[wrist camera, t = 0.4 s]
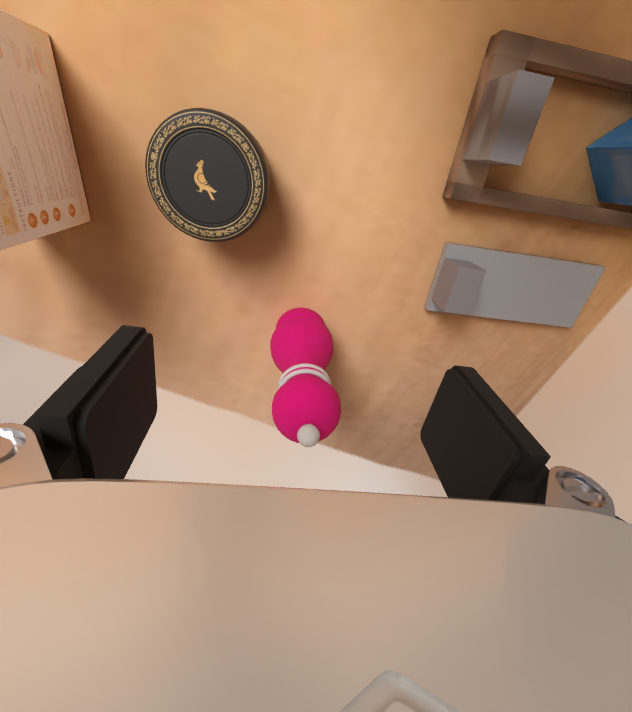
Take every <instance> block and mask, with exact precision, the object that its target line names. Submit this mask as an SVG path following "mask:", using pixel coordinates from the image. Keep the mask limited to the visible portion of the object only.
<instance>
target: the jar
mask: <svg viewBox="0 0 632 712" xmlns="http://www.w3.org/2000/svg"><path fill="white" fill-rule="evenodd" d="M145 168H146V177H147V182H148V186H149V189H150V192H151V195H152V197H153V199H154V201H155V203H156V205H157V206H158V208H159V209H160V211H161V212H162V214H163V215H164V216H165V217H166V218H167V219H168V220H169V221H170V222H171V223H172V224H173V225H174V226H175V227H176V228H178V229H179V230H181V231H182V232H184V233H186V234H187V235H189V236H192V237H194V238H197V239H200V240H204V241H211V242H221V241H227V240H231V239H234V238H237V237H239V236H241V235H242V234H244V233H245V232H247V231H248V230H249V229H250V228H252V227H253V226H254V225H255V224H256V222H257V221H258V220H259V219H260V217H261V215H262V214H263V212H264V210H265V207H266V205H267V201H268V198H269V192H270V183H271V179H270V170H269V165H268V161H267V158H266V156H265V153H264V151H263V149H262V148H261V146H260V144H259V143H258V141H257V140H256V139H255V137H254V136H253V135H252V134H251V133H250V132H249V131H248V130H247V128H246V127H245V126H243V125H242V124H241V123H240V122H238V121H237V120H235V119H234V118H232V117H231V116H229V115H227V114H224V113H222V112H219V111H215V110H211V109H205V108H191V109H186V110H182V111H179V112H177V113H175V114H173V115H171V116H170V117H168V118H167V119H166V120H164V121H163V122H162V123H161V124H160V125H159V127H158V128H157V129H156V131H155V132H154V134H153V136H152V138H151V140H150V142H149V145H148V149H147V153H146V163H145Z"/></svg>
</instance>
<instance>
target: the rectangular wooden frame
mask: <svg viewBox="0 0 632 712" xmlns="http://www.w3.org/2000/svg"><path fill="white" fill-rule="evenodd" d="M525 68H527V69H531V70H536V71H540V72H544V73H549V74H553V75H557V76H562V77H566V78H570V79H575V80H579V81H583V82H588V83H592V84H596V85H601V86H605V87H609V88H614V89H618V90H622V91H627V92H631V93H632V61H629V60H625V59H621V58H617V57H613V56H609V55H604V54H600V53H596V52H592V51H588V50H584V49H580V48H576V47H572V46H568V45H564V44H560V43H555V42H551V41H547V40H543V39H539V38H535V37H531V36H527V35H523V34H519V33H515V32H511V31H506V30H502V31H500V32H498V33H497V34H495V35H493V36H492V37H491V38H490V41H489V45H488V48H487V51H486V55H485V58H484V61H483V64H482V68H481V71H480V74H479V78H478V81H477V84H476V88H475V91H474V94H473V98H472V101H471V104H470V108H469V111H468V114H467V117H466V121H465V124H464V127H463V131H462V134H461V137H460V141H459V144H458V147H457V151H456V154H455V157H454V161H453V164H452V167H451V170H450V174H449V177H448V180H447V184H446V187H445V190H444V194H443V197H446V198H450V199H456V200H462V201H468V202H473V203H479V204H485V205H491V206H497V207H503V208H509V209H515V210H521V211H527V212H533V213H539V214H545V215H551V216H557V217H563V218H569V219H574V220H580V221H586V222H592V223H598V224H604V225H610V226H616V227H622V228H628V229H632V213H628V212H622V211H616V210H610V209H605V208H599V207H593V206H588V205H582V204H576V203H571V202H565V201H559V200H554V199H548V198H542V197H536V196H531V195H525V194H519V193H514V192H508V191H502V190H497V189H491V188H485V187H483V186H484V183H485V180H486V177H487V175H488V172H489V169H490V166H491V165H515V166H521V164H522V161H523V159H524V156H525V154H526V151H527V148H528V146H529V143H530V141H531V138H532V136H533V133H534V130H535V128H536V125H537V123H538V120H539V117H540V115H541V112H542V110H543V107H544V105H545V102H546V99H547V97H548V94H549V92H550V89H551V86H552V84H553V81H554V79H555V78H554V77H550V76H546V75H541V74H537V73H533V72H528V71H524V69H525Z"/></svg>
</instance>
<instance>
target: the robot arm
mask: <svg viewBox="0 0 632 712" xmlns="http://www.w3.org/2000/svg"><path fill="white" fill-rule="evenodd" d="M156 412H157V395H156V378H155V362H154V346H153V336H152V334H151V333H147V332H146V329H145V328H142V327H134V326H126V325H123V326H121V327H120V328H119V329H118V330H117V331H116V332H115V333H114V334H113V335H112V336H111V337H110V338H109V339H108V340H107V341H106V343H105V344H104V345H103V346H102V347H101V348H100V349H99V350H98V351H97V352H96V353H95V354H94V355H93V356H92V357H91V358H90V359H89V360H88V361H87V362H86V363H85V364H84V365H83V366H81V367H80V368H78V369H77V370H76V371H75V372H74V373H73V374H72V375H71V376H70V377H69V378H68V379H67V380H66V381H65V382H64V383H63V384H62V386H60V387H59V388H58V389H57V391H55V392H54V393H53V394H52V395H51V396H50V398H49V399H48V400H47V401H46V402H45V403H44V404H43V405H42V406H41V407H40V408H39V409H38V410H37V411H36V412H35V413H34V414H33V415H32V416H31V417H30V418H29V419H28V420H27V421H26V422H25V423H24V424H23V425H22V424H15V423H3V424H0V712H632V524H630V523H627V522H625V521H624V520H622V519H620V518H619V517H617V516H615V509H614V504H613V501H612V499H611V497H610V496H609V494H608V493H607V492H606V491H605V490H604V489H603V488H602V487H601V486H600V485H599V484H598V483H597V482H595V481H594V480H593V479H591V478H590V477H588V476H586V475H585V474H583V473H581V472H579V471H576V470H574V469H572V468H568V467H564V466H555V467H553V468H551V469H550V471H549V469H548V468H547V467H546V466H545V464H546V463H547V462H548V460H549V459H550V455H549V454H548V453H547V452H546V451H545V449H544V448H543V447H542V446H541V445H540V444H539V443H538V441H537V440H536V439H535V438H534V437H533V436H532V435H531V433H530V432H529V431H528V430H527V429H526V428H525V427H524V425H523V424H522V423H521V422H520V421H519V420H518V418H517V417H516V416H515V415H514V414H513V413H512V412H511V410H510V409H509V408H508V407H507V406H506V405H505V404H504V402H503V401H502V400H501V399H500V398H499V397H498V396H497V394H496V393H495V392H494V391H493V390H492V389H491V388H490V386H489V385H488V384H487V383H486V382H485V381H484V379H483V378H482V377H481V376H480V375H479V374H478V373H477V371H476V370H475V369H474V368H472V367H464V366H453V367H452V368H451V369H448V370H447V371H446V373H445V375H444V377H443V380H442V382H441V384H440V387H439V389H438V391H437V394H436V396H435V398H434V401H433V403H432V405H431V408H430V410H429V412H428V415H427V417H426V419H425V422H424V424H423V426H422V429H421V433H420V435H421V441H422V443H423V445H424V447H425V449H426V451H427V454H428V456H429V458H430V460H431V462H432V464H433V466H434V468H435V471H436V473H437V475H438V477H439V479H440V481H441V483H442V486H443V488H444V490H445V492H446V494H447V496H448V498H447V497H432V496H417V495H402V494H384V493H369V492H351V491H335V490H318V489H302V488H285V487H266V486H247V485H228V484H210V483H192V482H173V481H153V480H130V479H129V480H128V479H124V478H125V475H126V474H127V471H128V470H129V468H130V466H131V464H132V462H133V460H134V458H135V456H136V454H137V452H138V450H139V448H140V446H141V444H142V442H143V440H144V438H145V436H146V434H147V432H148V430H149V428H150V426H151V424H152V422H153V420H154V418H155V416H156Z"/></svg>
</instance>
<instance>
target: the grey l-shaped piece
mask: <svg viewBox="0 0 632 712" xmlns="http://www.w3.org/2000/svg"><path fill="white" fill-rule="evenodd" d="M605 268H606V267H603V266H600V265H595V264H588V263H581V262H575V261H568V260H561V259H555V258H548V257H541V256H535V255H528V254H521V253H515V252H508V251H501V250H495V249H488V248H481V247H474V246H468V245H461V244H454V243H448V242H446V243H445V246H444V249H443V252H442V255H441V258H440V261H439V265H438V268H437V271H436V274H435V277H434V280H433V283H432V286H431V289H430V292H429V295H428V298H427V301H426V304H425V308H426V310H427V311H436V312H444V313H452V314H461V315H469V316H477V317H486V318H494V319H502V320H511V321H519V322H527V323H536V324H544V325H552V326H561V327H569V328H572V326H573V324H574V323H575V321H576V319H577V317H578V316H579V314H580V312H581V310H582V308H583V307H584V305H585V303H586V301H587V300H588V298H589V296H590V294H591V293H592V291H593V289H594V287H595V285H596V284H597V282H598V280H599V278H600V277H601V275H602V273H603V271H604V270H605Z"/></svg>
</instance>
